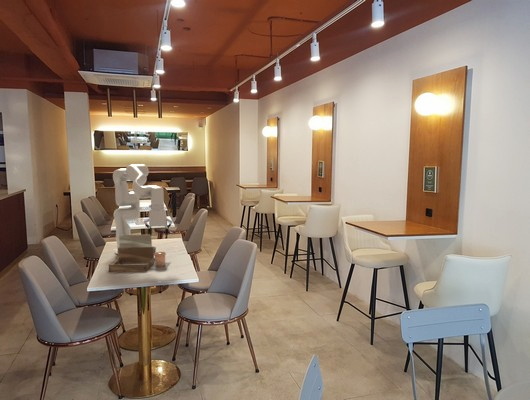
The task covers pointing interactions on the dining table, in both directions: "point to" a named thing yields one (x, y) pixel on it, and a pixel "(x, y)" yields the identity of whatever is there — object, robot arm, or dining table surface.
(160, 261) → the terracotta pot
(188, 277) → the dining table surface
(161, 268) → the slate mat
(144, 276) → the dining table surface
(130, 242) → the box
